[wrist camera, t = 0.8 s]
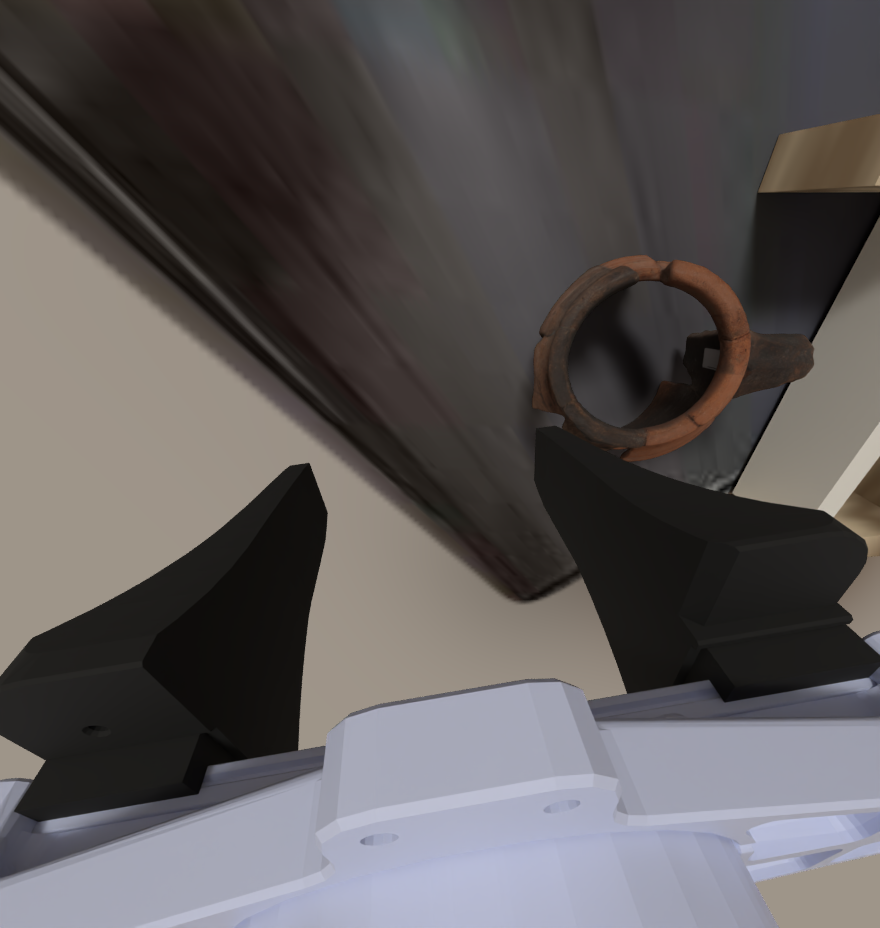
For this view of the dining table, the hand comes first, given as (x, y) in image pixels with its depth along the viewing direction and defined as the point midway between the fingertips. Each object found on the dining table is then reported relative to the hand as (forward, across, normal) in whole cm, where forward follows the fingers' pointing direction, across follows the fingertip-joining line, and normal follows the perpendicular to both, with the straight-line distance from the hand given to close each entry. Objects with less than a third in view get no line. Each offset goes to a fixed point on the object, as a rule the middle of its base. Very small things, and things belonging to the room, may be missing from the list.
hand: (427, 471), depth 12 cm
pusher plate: (+10, -22, +4) cm, 24 cm away
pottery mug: (+11, -13, +2) cm, 17 cm away
